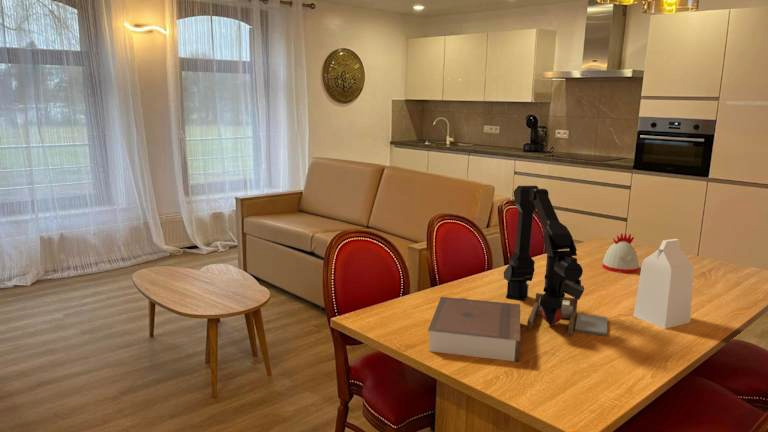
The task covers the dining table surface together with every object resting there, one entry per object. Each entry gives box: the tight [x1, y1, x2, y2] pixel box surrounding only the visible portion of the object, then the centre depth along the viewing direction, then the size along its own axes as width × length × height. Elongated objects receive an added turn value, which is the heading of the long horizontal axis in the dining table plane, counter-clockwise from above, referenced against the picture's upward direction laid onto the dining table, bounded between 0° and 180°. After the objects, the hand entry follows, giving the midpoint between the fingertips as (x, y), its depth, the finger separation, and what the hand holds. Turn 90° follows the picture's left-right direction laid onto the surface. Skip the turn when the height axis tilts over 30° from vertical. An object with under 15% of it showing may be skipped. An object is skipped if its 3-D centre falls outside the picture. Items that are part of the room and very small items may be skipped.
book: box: [427, 296, 521, 363], centre depth 167 cm, size 24×28×6 cm
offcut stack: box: [537, 297, 573, 320], centre depth 186 cm, size 11×4×4 cm, turn 68°
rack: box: [526, 292, 579, 337], centre depth 180 cm, size 13×20×5 cm, turn 158°
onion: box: [542, 309, 563, 326], centre depth 176 cm, size 6×6×8 cm
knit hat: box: [601, 232, 640, 274], centre depth 238 cm, size 14×14×15 cm
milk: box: [632, 238, 694, 330], centre depth 181 cm, size 12×12×26 cm
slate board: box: [574, 313, 609, 337], centre depth 178 cm, size 9×14×1 cm, turn 158°
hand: (551, 320), depth 177 cm, fingers open, 6 cm apart
